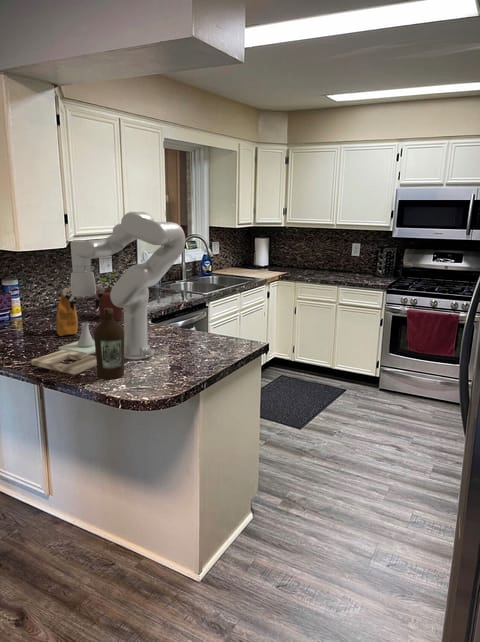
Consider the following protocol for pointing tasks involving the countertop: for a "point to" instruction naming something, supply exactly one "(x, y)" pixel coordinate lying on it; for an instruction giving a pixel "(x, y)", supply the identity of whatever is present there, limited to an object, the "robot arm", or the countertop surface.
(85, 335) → the flask
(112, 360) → the olive oil
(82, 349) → the sage tile
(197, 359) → the countertop surface
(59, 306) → the coffee package
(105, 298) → the potted plant
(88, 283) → the robot arm
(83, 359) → the tan flat rectangular frame
